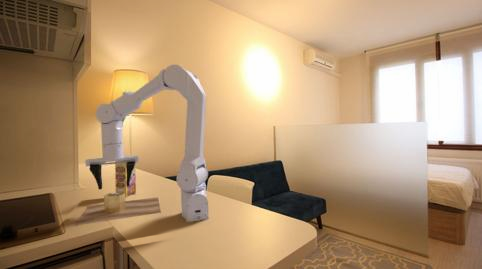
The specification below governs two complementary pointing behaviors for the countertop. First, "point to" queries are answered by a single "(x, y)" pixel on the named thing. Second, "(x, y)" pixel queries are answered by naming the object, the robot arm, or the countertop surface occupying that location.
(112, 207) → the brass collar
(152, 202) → the keyed post board
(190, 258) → the countertop surface
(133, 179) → the candy box
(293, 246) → the countertop surface
